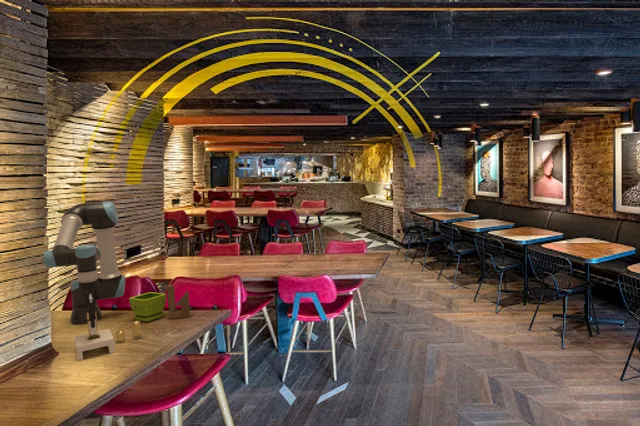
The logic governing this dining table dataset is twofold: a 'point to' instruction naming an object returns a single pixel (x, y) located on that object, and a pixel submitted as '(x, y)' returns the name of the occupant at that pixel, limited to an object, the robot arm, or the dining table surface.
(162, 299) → the flower pot
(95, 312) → the pin long
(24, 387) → the dining table surface
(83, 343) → the white block with hole
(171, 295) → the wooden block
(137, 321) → the pin medium
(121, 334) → the pin short
